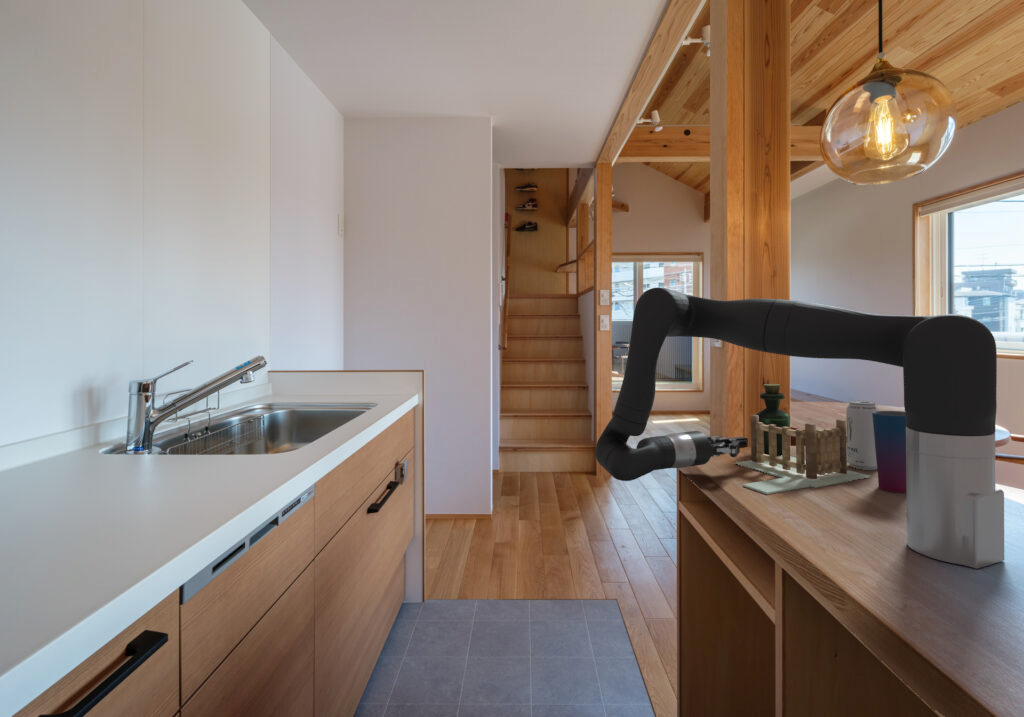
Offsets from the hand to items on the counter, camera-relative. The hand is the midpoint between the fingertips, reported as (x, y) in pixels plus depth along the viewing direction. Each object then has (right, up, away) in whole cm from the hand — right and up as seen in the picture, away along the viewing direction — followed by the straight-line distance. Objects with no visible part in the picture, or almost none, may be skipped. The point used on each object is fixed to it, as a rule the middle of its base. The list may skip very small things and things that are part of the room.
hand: (745, 441), depth 112 cm
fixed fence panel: (+14, -6, -8) cm, 17 cm away
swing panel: (+7, -5, -1) cm, 9 cm away
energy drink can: (+26, -6, -1) cm, 27 cm away
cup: (+21, -7, -17) cm, 28 cm away
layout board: (+6, -7, -4) cm, 9 cm away
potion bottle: (+14, -6, +15) cm, 21 cm away
